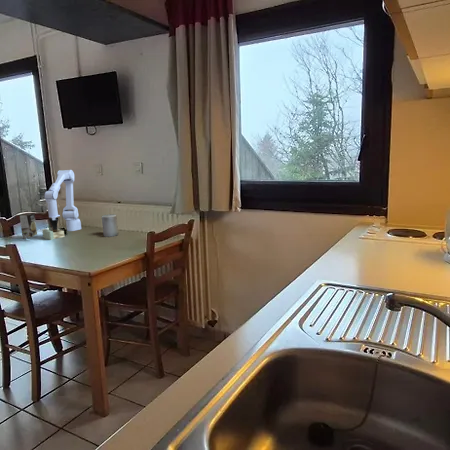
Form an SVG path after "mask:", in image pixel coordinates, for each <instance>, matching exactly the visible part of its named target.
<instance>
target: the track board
mask: <svg viewBox="0 0 450 450" xmlns="http://www.w3.org/2000/svg"><path fill="white" fill-rule="evenodd" d="M41 231H42V238H44V239H46V240H50V241H53V240H54V236H53V230H49V229H47V228H46V229H42V230H41Z"/></svg>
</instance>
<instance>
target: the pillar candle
mask: <svg viewBox="0 0 450 450" xmlns="http://www.w3.org/2000/svg"><path fill="white" fill-rule="evenodd" d="M101 223H102V225H101V226H102V231H103V233H102V235H103V237H105V238H109V237H110V238H112V237H117V236H119V229H118V227H119V225H118V219H117V214H114V213H113V214H111V213H108V214H104V215H102V216H101Z"/></svg>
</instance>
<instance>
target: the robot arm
mask: <svg viewBox="0 0 450 450" xmlns="http://www.w3.org/2000/svg"><path fill="white" fill-rule="evenodd" d="M56 176H57V177H56V180H55V182H53V183H52V184H51V186H50V187H49V189H48V190H46V191H45V192H44V199H45V202H46V204H47V212H48V218H49V219H48V221H49V222H50V224H51V228H52V227H53V230H58V222H59V217H61V215H60V214H59V212H58V204H57V203H58V202H57V199H58V196H59V191H60V189H61V186H62V183H64V185H65V206H64V207H63V209H62V218H63V219H64V220H65V226H66V231H67V232H74V231H79V230H82V222H81V219H80V218H79V211H78V210H79V209H78V208H77V206H75V202H74V200H75V199H74V182H75V173H74V171H73V170H72V169H65V170H61V169H59V170H58V171H57V173H56ZM53 230H52V231H53Z"/></svg>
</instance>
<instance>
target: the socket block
mask: <svg viewBox="0 0 450 450" xmlns="http://www.w3.org/2000/svg"><path fill="white" fill-rule="evenodd" d="M57 230H58V232H53V236H54V239H60V238H65V237H66V236H65V231H64V230H61V229H57Z"/></svg>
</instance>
